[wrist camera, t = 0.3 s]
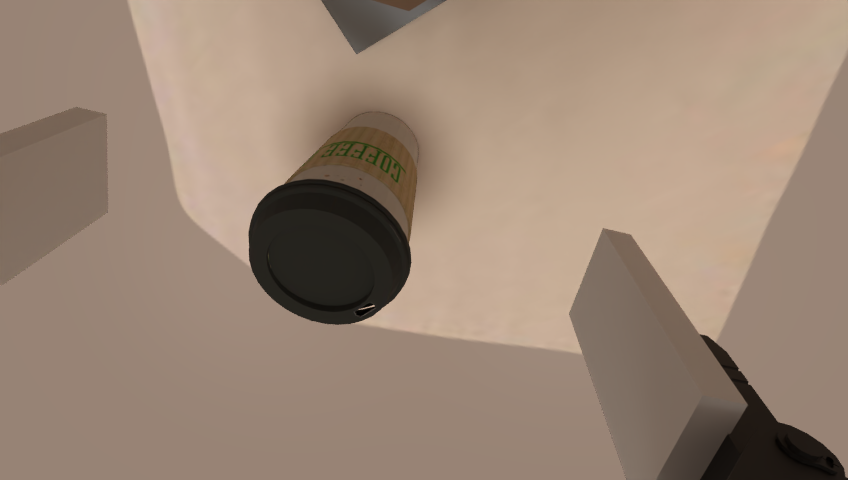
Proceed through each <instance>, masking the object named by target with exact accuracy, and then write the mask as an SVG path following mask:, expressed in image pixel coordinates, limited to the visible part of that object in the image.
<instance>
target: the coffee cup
mask: <svg viewBox="0 0 848 480" xmlns="http://www.w3.org/2000/svg"><path fill="white" fill-rule="evenodd" d="M417 161H418V145H417V141H416V139H415V137H414V135H413V133H412V131H411V130H410V129H409V128H408V126H407V125H405V124H404V123H403V122H402V121H401V120H399V119H397V118H396V117H394V116H392V115H389V114H386V113H381V112H368V113H363V114H361V115H358V116H356V117H355V118H353V119H352V120H351V121H350V122H349V123H348V124H347V125H346V126H345V127H344V128H343V129H342V130H341V131H339V132H338V133H336V134H335V135H333V136H332V137H331V138H330V139H329V140H328V141H327V142H326V143H325V144H324V145H323V146H322V147H321V148H320V149H319V150H318V151H317V152H316V153H315V154H313V155H312V156H311V157H310V158H309V159H308V160H307V161H306V162H305V163H304V164H303V165H302V166H301V167H300V168H299V169H298V170H297V171H296V172H295V173H294V174H293V175H292V176H291V177H290V178H289V179H288V180H287V182H286V183H285V184H284V185H281V186H278V187H277V188H275V189H274V190H272V191H271V192H269V193H268V194H267V195H266V196H265V197H264V198H263V199H262V200H261V201H260V202H259V204H258V206H257V208H256V210H255V212H254V214H253V216H252V219H251V223H250V228H249V261H250V264H251V268H252V271H253V273H254V275H255V277H256V279H257V281H258V283H259V284H260V285H261V286H262V288H263V289H264V290H265V292H266V293H267V294H268V295H269V296H270V297H271V298H272V299H273V300H275V301H276V302H277V303H278V304H280V305H281V306H282V307H284V308H285V309H287V310H289V311H290V312H292V313H294V314H297V315H298V316H301V317H303V318H306V319H309V320H311V321H316V322H320V323H325V324H337V325H339V324H351V323H355V322H359V321H363V320H365V319H367V318H369V317H371V316H373V315H374V314H376V313H377V312H378V311H380V310H381V309H382V308H383V307H384V306H386V305H387V304H388V303H389V302H391V301H392V300H393V299H394V298H395V297H396V296H397V294H398V293H399V292H400V291H401V289H402V288H403V286H404V285H405V282H406V280H407V278H408V276H409V273H410V267H411V252H410V247H409V240H410V234H411V226H412V218H413V209H414V200H415V192H416V183H417V170H416V169H417ZM372 305H375V307H371V308H367V309H363V310H358V309H361V308H365V307H369V306H372Z"/></svg>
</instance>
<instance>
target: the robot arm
mask: <svg viewBox="0 0 848 480" xmlns="http://www.w3.org/2000/svg"><path fill="white" fill-rule="evenodd" d="M107 212H108V175H107V114H104V113H100V112H96V111H91V110H87V109H82V108H78V107H75V108H72V109H69V110H66V111H64V112H61V113H58V114H55V115H52V116H49V117H47V118H44V119H41V120H38V121H35V122H32V123H30V124H27V125H24V126H21V127H18V128H16V129H13V130H10V131H7V132H4V133H1V134H0V286H2V285H3V284H5V283H6V282H7V281H9V280H11V279H12V278H13V277H15V276H16V275H18V274H19V273H21V272H22V271H24V270H25V269H26V268H28V267H29V266H31V265H32V264H34V263H35V262H37V261H38V260H39V259H41V258H42V257H44V256H45V255H47V254H48V253H49V252H51V251H53V250H54V249H55V248H57V247H58V246H60V245H61V244H63V243H64V242H65V241H67V240H68V239H70V238H71V237H73V236H74V235H76V234H77V233H79V232H80V231H81V230H83V229H84V228H86V227H87V226H89V225H90V224H92V223H93V222H94V221H96V220H97V219H99V218H100V217H102V216H103V215H105V214H106V213H107ZM569 315H570V318H571V321H572V324H573V327H574V330H575V333H576V335H577V338H578V341H579V344H580V347H581V350H582V353H583V356H584V359H585V361H586V364H587V367H588V370H589V373H590V376H591V379H592V381H593V384H594V387H595V390H596V393H597V396H598V399H599V402H600V404H601V407H602V410H603V413H604V416H605V419H606V422H607V425H608V428H609V431H610V434H611V436H612V439H613V442H614V445H615V448H616V451H617V454H618V456H619V459H620V462H621V465H622V468H623V471H624V474H625V476H626V480H848V478H846V477H845V472H844V468H843V466H842V465H841V463H840V462H839V460H838V459H837V457H836V456H835V455H834V454H833V453H832V452H831V451H830V450H828V449H827V448H826V447H825V446H824V445H823V444H822V443H820V442H819V441H817V440H816V439H814V438H813V437H811V436H810V435H809V434H807V433H805V432H803V431H801V430H799V429H797V428H795V427H792V426H790V425H786V424H783V423H779V422H777V421H776V419H775V418H774V416H773V415H772V413H771V412H770V411H769V409H768V408H767V407H766V405H765V404H764V403H763V401H762V400H761V399H760V397H759V396H758V394H757V393H756V392H755V390H754V389H753V388H752V386H751V385H748V381H747V379H746V378H745V376H744V375H743V374H742V373H741V371H738V369H739V368H738V367H737V365H736V364H735V363H734V361H733V360H732V359H731V357H730V356H729V355H728V353H727V352H726V351H725V350H723V349H722V348H721V347H720V346H719V345H718V344H716V343H715V342H714V341H713V340H712V339H710V338H709V337H708V336H705V335H700V334H699V333H698V332H697V330H696V329H695V327H694V326H693V324H692V323H691V321H690V320H689V319H688V317H687V316H686V314H685V313H684V311H683V310H682V308H681V307H680V305H679V304H678V303H677V301H676V300H675V298H674V297H673V295H672V294H671V292H670V291H669V290H668V288H667V287H666V285H665V284H664V282H663V281H662V279H661V278H660V276H659V275H658V274H657V272H656V271H655V269H654V268H653V266H652V265H651V263H650V262H649V261H648V259H647V258H646V256H645V255H644V253H643V252H642V250H641V249H640V247H639V246H638V245H637V243H636V242H635V240H634V239H633V237H632V236H631V235H630V234H626V233H621V232H617V231H613V230H608V229H604V228H603V230H602V232H601V235H600V237H599V240H598V242H597V245H596V247H595V250H594V253H593V255H592V258H591V260H590V263H589V265H588V268H587V270H586V273H585V275H584V278H583V280H582V283H581V285H580V288H579V290H578V293H577V295H576V298H575V300H574V303H573V305H572V308H571V310H570V313H569Z"/></svg>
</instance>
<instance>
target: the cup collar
mask: <svg viewBox="0 0 848 480" xmlns="http://www.w3.org/2000/svg"><path fill="white" fill-rule="evenodd" d="M444 1H446V0H322V2H323V4H324V5H325V7H326V8H327V10H328V11H329V13H330V14H331V16H332V17H333V19H334V20H335V22H336V24H337V25H338V27H339V28H340V30H341V31H342V33H343V34H344V36H345V37H346V39H347V41H348V42H349V44H350V45H351V47H352V48H353V50H354V51H355V53H356V54H358V53H360V52H361V51H363V50H365V49H366V48H368V47H370V46H371V45H373V44H374V43H376V42H378V41H379V40H381V39H383V38H384V37H386V36H388V35H389V34H391V33H393V32H394V31H396V30H398V29H399V28H401V27H403V26H404V25H406V24H408V23H409V22H411V21H413V20H414V19H416V18H418V17H419V16H421V15H423V14H424V13H426V12H428V11H429V10H431V9H432V8H434V7H436V6H437V5H439V4H441V3H442V2H444Z"/></svg>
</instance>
